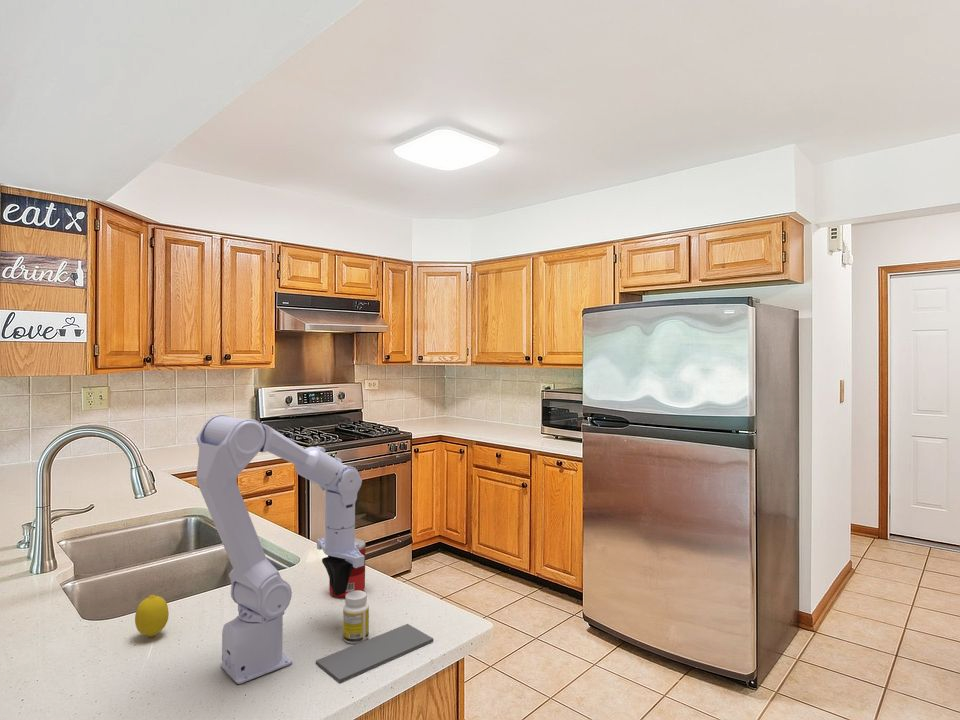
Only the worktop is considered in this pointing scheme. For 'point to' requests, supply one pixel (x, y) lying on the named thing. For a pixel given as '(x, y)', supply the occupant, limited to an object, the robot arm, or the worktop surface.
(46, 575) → the worktop surface
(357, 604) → the supplement bottle
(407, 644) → the mat
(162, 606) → the lemon
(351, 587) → the canned food
